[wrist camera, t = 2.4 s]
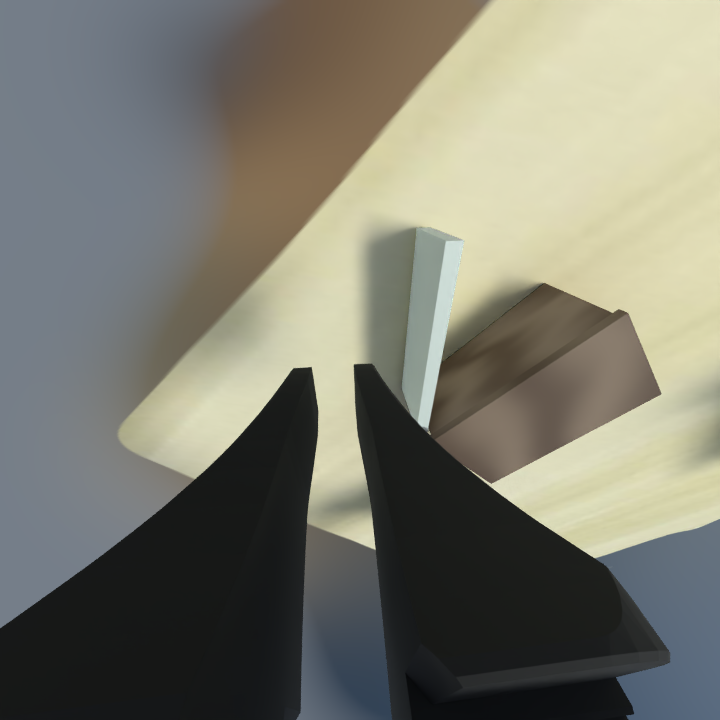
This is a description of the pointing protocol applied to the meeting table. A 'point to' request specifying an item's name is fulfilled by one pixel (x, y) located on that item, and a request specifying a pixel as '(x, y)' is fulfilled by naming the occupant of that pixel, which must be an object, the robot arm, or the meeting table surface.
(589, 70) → the meeting table surface
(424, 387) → the cabinet door
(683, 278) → the meeting table surface
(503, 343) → the cabinet
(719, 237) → the meeting table surface
